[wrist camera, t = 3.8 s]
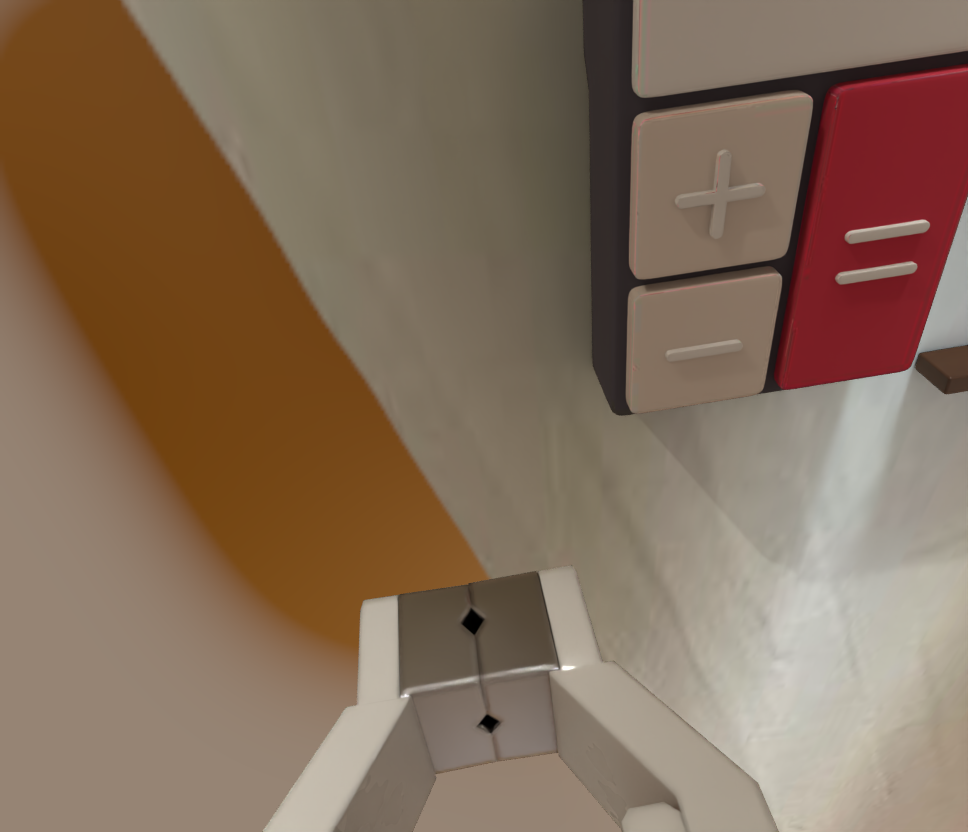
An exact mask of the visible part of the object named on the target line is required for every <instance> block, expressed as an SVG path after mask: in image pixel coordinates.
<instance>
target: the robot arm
mask: <svg viewBox="0 0 968 832" xmlns="http://www.w3.org/2000/svg"><path fill="white" fill-rule="evenodd" d="M552 753H559V757H560V758H561V759H562V760H563V761H564V763H565V764H566V765H567V766H568V767H569V768H570V770H571V771H572V772H573V773H574V774H575V775H576V777H577V778H578V779H579V780H580V781H581V782H582V784H583V785H584V786H585V787H586V788H587V790H588V791H589V792H590V793H591V794H592V795H593V797H594V798H595V799H596V800H597V801H598V803H599V804H600V805H601V806H602V807H603V808H604V810H605V811H606V812H607V813H608V814H609V815H610V817H611V818H612V819H613V820H614V821H615V823H616V824H617V825H618V826H619V827H620V828H621V830H622V832H779V831H778V829H777V826H776V824H775V822H774V819H773V817H772V815H771V812H770V810H769V808H768V805H767V803H766V801H765V798H764V796H763V794H762V791H761V789H760V787H759V784H758V783H757V782H756V781H755V780H754V779H753V778H752V777H750V776H749V775H748V774H747V773H746V772H744V771H743V770H742V769H741V768H740V767H739V766H737V765H736V764H735V763H734V762H733V761H731V760H730V759H729V758H728V757H727V756H726V755H724V754H723V753H722V752H721V751H720V750H718V749H717V748H716V747H715V746H714V745H713V744H711V743H710V742H709V741H708V740H707V739H706V738H704V737H703V736H702V735H701V734H700V733H698V732H697V731H696V730H695V729H694V728H693V727H691V726H690V725H689V724H688V723H687V722H685V721H684V720H683V719H682V718H681V717H680V716H678V715H677V714H676V713H675V712H674V711H672V710H671V709H670V708H669V707H668V706H667V705H665V704H664V703H663V702H662V701H661V700H659V699H658V698H657V697H656V696H655V695H654V694H652V693H651V692H650V691H649V690H648V689H646V688H645V687H644V686H643V685H642V684H641V683H639V682H638V681H637V680H636V679H635V678H634V677H632V676H631V675H630V674H629V673H628V672H626V671H625V670H624V669H623V668H622V667H621V666H619V665H618V664H617V663H616V662H615V661H609V662H603V661H602V657H601V654H600V650H599V647H598V644H597V640H596V637H595V633H594V630H593V627H592V623H591V620H590V616H589V613H588V610H587V606H586V603H585V599H584V596H583V592H582V589H581V586H580V582H579V579H578V575H577V572H576V570H575V569H574V567H573V566H572V565H570V566H565V567H559V568H553V569H547V570H542V571H538V573H537V572H536V571H533V572H528V573H523V574H517V575H512V576H506V577H501V578H495V579H490V580H484V581H479V582H473V583H469V584H468V585H461V586H454V587H448V588H440V589H433V590H427V591H420V592H413V593H406V594H400V595H395V596H389V597H382V598H375V599H369V600H364V601H363V604H362V607H361V611H360V635H359V661H358V688H357V705H355V706H350V707H346V708H345V709H344V711H343V712H342V714H341V715H340V717H339V718H338V720H337V722H336V723H335V725H334V726H333V727H332V729H331V730H330V732H329V733H328V735H327V736H326V738H325V739H324V741H323V742H322V744H321V745H320V747H319V748H318V750H317V751H316V753H315V754H314V756H313V757H312V759H311V760H310V762H309V763H308V765H307V766H306V768H305V769H304V771H303V772H302V773H301V775H300V776H299V778H298V779H297V781H296V782H295V784H294V785H293V787H292V789H291V790H290V791H289V793H288V794H287V796H286V797H285V799H284V800H283V802H282V803H281V805H280V806H279V808H278V809H277V811H276V812H275V814H274V815H273V817H272V818H271V820H270V821H269V823H268V824H267V826H266V827H265V829H264V830H263V831H262V832H413V830H414V828H415V825H416V823H417V821H418V819H419V816H420V814H421V812H422V810H423V807H424V805H425V803H426V801H427V798H428V796H429V794H430V792H431V789H432V787H433V785H434V783H435V780H436V776H435V774H438V773H444V772H448V771H453V770H458V769H463V768H468V767H473V766H478V765H482V764H488V763H493V762H496V761H505V760H511V759H518V758H525V757H531V756H538V755H545V754H552Z"/></svg>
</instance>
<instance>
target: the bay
mask: <svg viewBox="0 0 968 832" xmlns="http://www.w3.org/2000/svg"><path fill="white" fill-rule="evenodd" d="M915 368H916V370H917V371H918V372H919V373H921V374H922V375H923V376H924V377H925V378H926V379H928V380H929V381H930V382H931V383H932V384H933V385H934V386H936V387H937V388H938V389H939V390H940V391H941V392H943V393H944V394H952V393H958V392H964V391H968V345H965V346H959V347H953V348H947V349H941V350H935V351H929V352H923V353H920V354H919V356H918V360H917V363H916V367H915Z"/></svg>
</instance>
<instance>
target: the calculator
mask: <svg viewBox="0 0 968 832" xmlns="http://www.w3.org/2000/svg"><path fill="white" fill-rule="evenodd" d="M583 30H584V56H585V64H586V72H587V80H588V87H589V126H590V204H591V281H592V357H593V367H594V370H595V372H596V375H597V377H598V380H599V382H600V385H601V387H602V389H603V392H604V394H605V397H606V399H607V401H608V403H609V406H610V408H611V410H612V411H613V413H615V414H617V415H621V416H623V415H631V414H638V413H647V412H653V411H659V410H666V409H672V408H678V407H684V406H691V405H697V404H703V403H709V402H715V401H722V400H728V399H734V398H740V397H747V396H752V395H756V394H762V393H768V392H774V391H781V390H790V389H797V388H803V387H809V386H815V385H822V384H828V383H834V382H840V381H847V380H853V379H859V378H865V377H872V376H878V375H884V374H890V373H897V372H901V371H905V370H907V369H908V368H910V366H911V364H912V362H913V360H914V357H915V354H916V351H917V348H918V345H919V342H920V339H921V336H922V333H923V330H924V327H925V324H926V321H927V318H928V315H929V312H930V309H931V306H932V303H933V300H934V297H935V294H936V291H937V288H938V285H939V282H940V279H941V276H942V273H943V270H944V267H945V264H946V260H947V257H948V254H949V251H950V248H951V245H952V242H953V239H954V236H955V233H956V230H957V227H958V224H959V221H960V218H961V215H962V212H963V209H964V206H965V203H966V200H967V197H968V0H583Z"/></svg>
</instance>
